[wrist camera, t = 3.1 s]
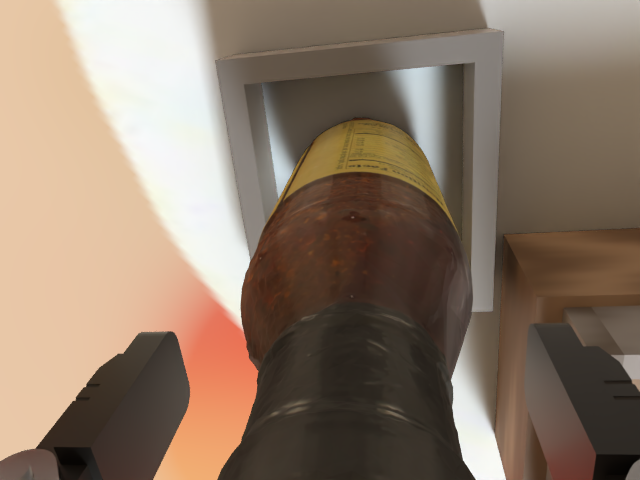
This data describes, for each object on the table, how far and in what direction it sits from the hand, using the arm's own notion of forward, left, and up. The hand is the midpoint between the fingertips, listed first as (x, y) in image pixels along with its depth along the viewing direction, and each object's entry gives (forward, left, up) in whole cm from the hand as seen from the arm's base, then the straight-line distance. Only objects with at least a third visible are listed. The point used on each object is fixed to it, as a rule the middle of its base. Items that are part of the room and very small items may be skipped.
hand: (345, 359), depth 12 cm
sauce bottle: (0, 0, -14) cm, 15 cm away
